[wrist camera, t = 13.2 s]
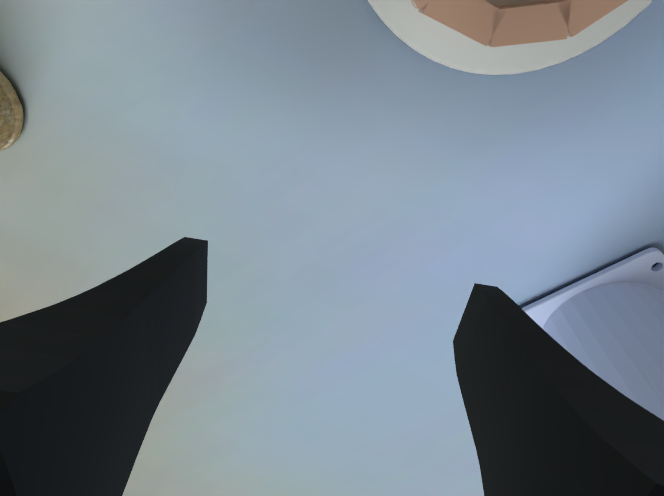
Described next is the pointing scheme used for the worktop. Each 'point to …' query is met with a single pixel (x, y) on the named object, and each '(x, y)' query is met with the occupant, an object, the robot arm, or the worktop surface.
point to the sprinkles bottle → (9, 114)
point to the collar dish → (499, 54)
